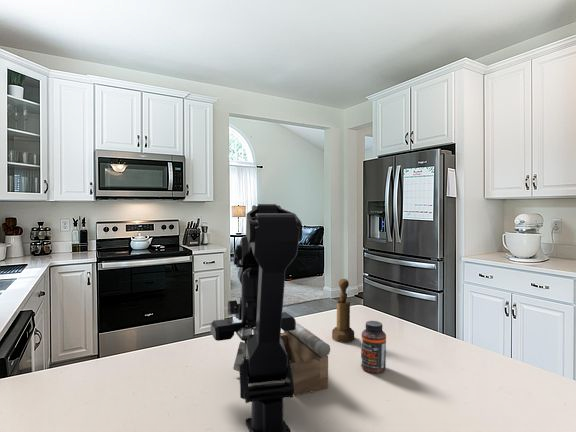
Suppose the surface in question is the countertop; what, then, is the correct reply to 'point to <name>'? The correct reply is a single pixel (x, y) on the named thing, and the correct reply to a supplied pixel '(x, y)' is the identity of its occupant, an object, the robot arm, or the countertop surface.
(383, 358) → the supplement bottle
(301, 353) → the cradle
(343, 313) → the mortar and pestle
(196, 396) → the countertop surface
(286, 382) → the robot arm
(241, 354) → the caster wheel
